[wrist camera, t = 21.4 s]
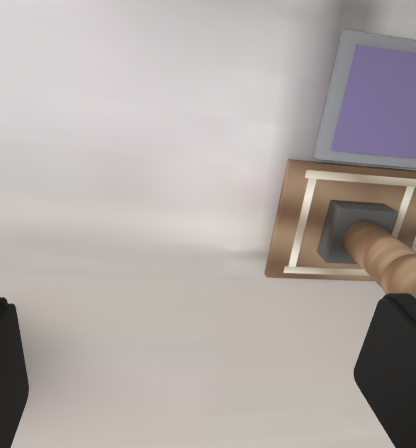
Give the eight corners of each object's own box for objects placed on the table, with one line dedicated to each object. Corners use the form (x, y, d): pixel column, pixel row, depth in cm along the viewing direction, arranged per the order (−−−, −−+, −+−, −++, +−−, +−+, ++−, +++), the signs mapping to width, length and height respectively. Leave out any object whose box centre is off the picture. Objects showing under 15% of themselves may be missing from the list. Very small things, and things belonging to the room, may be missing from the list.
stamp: (330, 199, 37) (407, 260, 25) (383, 203, 38) (481, 264, 26) (316, 251, 39) (381, 329, 28) (367, 254, 40) (450, 329, 29)
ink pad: (341, 30, 31) (350, 29, 30) (453, 47, 33) (466, 47, 32) (313, 156, 36) (319, 160, 34) (413, 165, 37) (422, 169, 36)
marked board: (287, 159, 35) (291, 161, 35) (433, 172, 38) (439, 174, 37) (264, 273, 40) (266, 277, 40) (394, 278, 43) (398, 282, 42)
